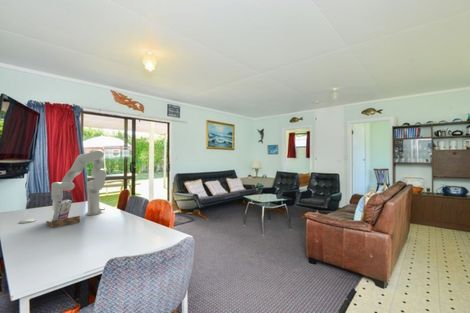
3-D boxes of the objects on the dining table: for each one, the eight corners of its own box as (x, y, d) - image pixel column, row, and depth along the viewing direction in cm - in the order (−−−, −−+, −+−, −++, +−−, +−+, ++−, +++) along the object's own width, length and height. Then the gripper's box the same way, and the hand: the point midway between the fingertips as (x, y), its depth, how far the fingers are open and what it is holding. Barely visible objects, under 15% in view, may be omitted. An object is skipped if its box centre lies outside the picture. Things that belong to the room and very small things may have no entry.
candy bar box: (61, 217, 196) (67, 199, 196) (67, 219, 196) (72, 200, 196) (51, 221, 184) (56, 201, 185) (57, 222, 184) (62, 203, 185)
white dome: (33, 219, 195) (33, 217, 195) (37, 221, 189) (37, 219, 189) (18, 221, 187) (18, 220, 187) (20, 224, 181) (20, 222, 181)
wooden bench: (73, 219, 195) (73, 213, 195) (79, 222, 186) (79, 216, 186) (46, 224, 180) (46, 218, 180) (51, 227, 172) (51, 220, 172)
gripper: (65, 197, 191) (65, 219, 191) (59, 195, 200) (59, 216, 200) (54, 198, 185) (54, 221, 185) (48, 196, 194) (48, 218, 194)
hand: (56, 218), depth 192 cm, fingers closed
